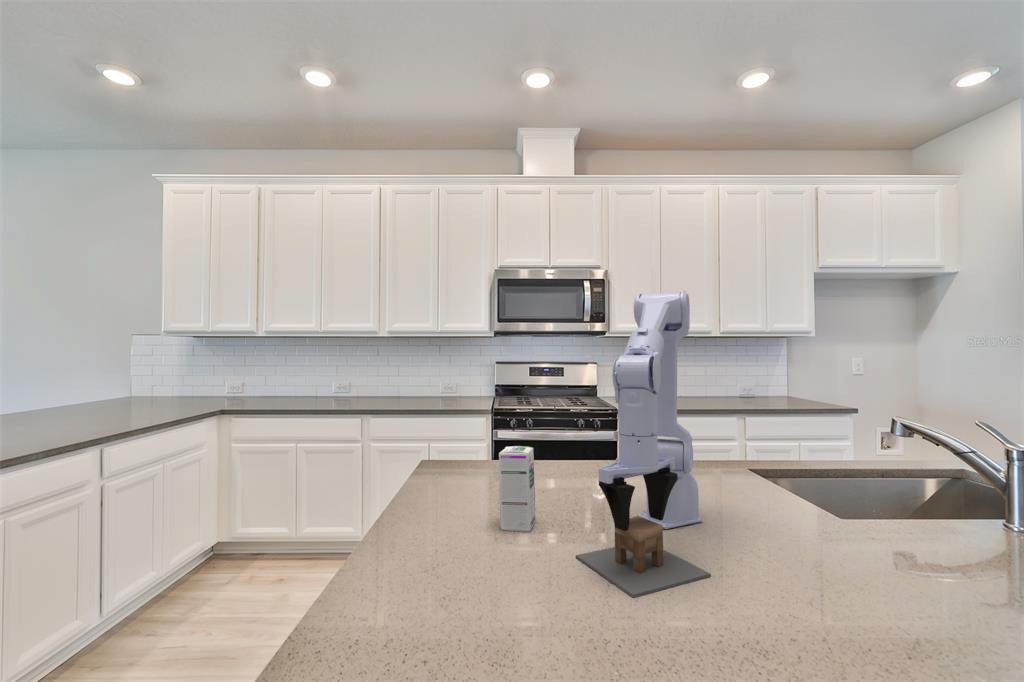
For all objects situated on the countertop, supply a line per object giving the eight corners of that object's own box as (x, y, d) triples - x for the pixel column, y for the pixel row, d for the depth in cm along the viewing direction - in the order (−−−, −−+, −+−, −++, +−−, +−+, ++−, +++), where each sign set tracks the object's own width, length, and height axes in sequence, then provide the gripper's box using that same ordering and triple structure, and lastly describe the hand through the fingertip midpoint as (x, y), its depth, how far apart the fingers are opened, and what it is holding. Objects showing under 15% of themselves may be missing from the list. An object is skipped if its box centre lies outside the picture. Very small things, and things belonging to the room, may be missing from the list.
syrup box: (530, 532, 87) (530, 452, 88) (499, 530, 89) (498, 451, 89) (535, 521, 93) (534, 446, 93) (505, 520, 94) (505, 445, 95)
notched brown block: (663, 565, 72) (662, 525, 72) (639, 573, 70) (638, 531, 70) (638, 554, 76) (637, 515, 77) (615, 561, 74) (614, 521, 74)
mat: (645, 542, 82) (645, 540, 82) (710, 576, 69) (710, 573, 69) (575, 557, 76) (575, 555, 76) (632, 597, 64) (632, 594, 64)
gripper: (649, 425, 81) (651, 507, 80) (584, 434, 73) (585, 525, 73) (685, 431, 75) (687, 519, 74) (618, 441, 67) (619, 540, 67)
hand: (639, 523), depth 73 cm, fingers open, 7 cm apart
